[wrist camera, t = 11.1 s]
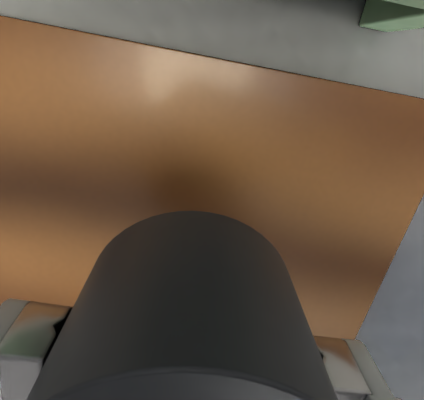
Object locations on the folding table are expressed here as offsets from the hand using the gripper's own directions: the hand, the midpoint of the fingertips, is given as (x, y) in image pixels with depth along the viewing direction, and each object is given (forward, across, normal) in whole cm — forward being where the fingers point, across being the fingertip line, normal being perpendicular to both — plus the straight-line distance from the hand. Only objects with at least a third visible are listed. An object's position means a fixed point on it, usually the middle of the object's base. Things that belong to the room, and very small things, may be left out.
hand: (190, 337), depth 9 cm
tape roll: (+2, 0, 0) cm, 2 cm away
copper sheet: (+7, 0, 0) cm, 7 cm away
